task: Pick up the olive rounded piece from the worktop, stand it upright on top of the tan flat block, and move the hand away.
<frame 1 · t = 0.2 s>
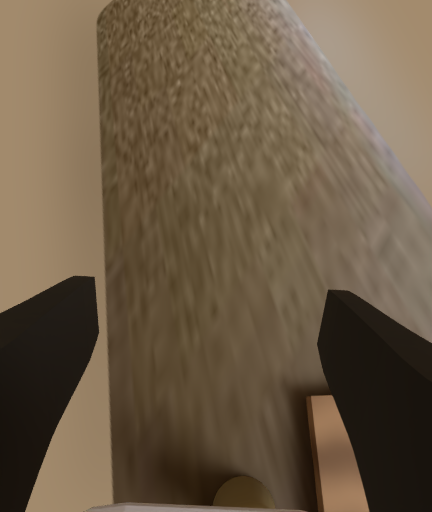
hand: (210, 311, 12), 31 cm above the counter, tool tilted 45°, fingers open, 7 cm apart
tan flat block: (373, 460, 37), on the counter
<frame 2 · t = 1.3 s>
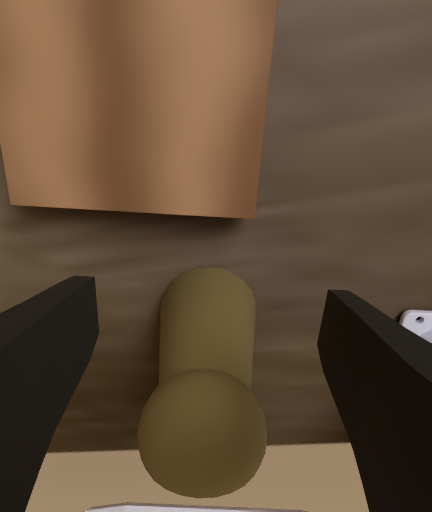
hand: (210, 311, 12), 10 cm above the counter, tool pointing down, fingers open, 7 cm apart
olive rounded piece: (208, 308, 24), on the counter
tan flat block: (140, 78, 19), on the counter
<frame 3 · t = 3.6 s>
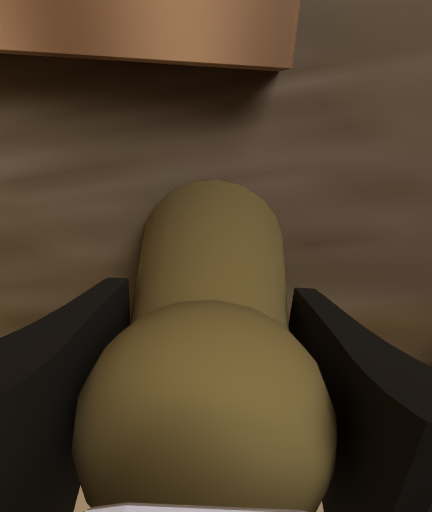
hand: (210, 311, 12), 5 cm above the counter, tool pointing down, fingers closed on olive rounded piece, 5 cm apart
olive rounded piece: (212, 247, 16), on the counter, touching gripper
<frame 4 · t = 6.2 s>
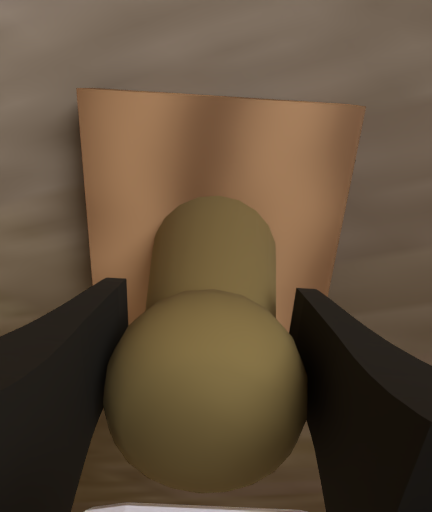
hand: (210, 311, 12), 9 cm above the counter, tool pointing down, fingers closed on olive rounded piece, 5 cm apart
olive rounded piece: (214, 255, 19), point 2 cm above the counter, touching gripper, tan flat block
tan flat block: (214, 217, 20), on the counter
when the fingers open (8 cm above the counter, at t = 6.9 s): olive rounded piece stays where it is, resting on tan flat block.
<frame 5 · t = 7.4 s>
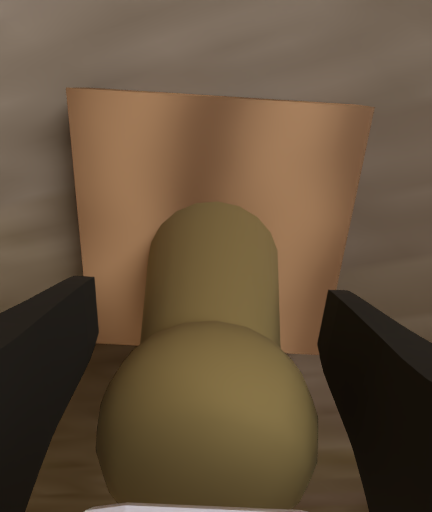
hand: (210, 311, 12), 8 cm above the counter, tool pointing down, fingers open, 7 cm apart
olive rounded piece: (213, 262, 18), point 2 cm above the counter, touching tan flat block
tan flat block: (213, 223, 20), on the counter
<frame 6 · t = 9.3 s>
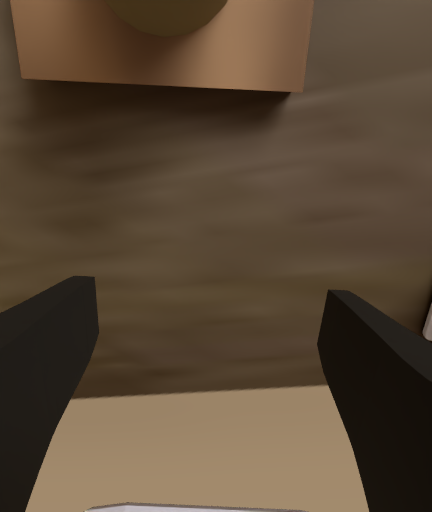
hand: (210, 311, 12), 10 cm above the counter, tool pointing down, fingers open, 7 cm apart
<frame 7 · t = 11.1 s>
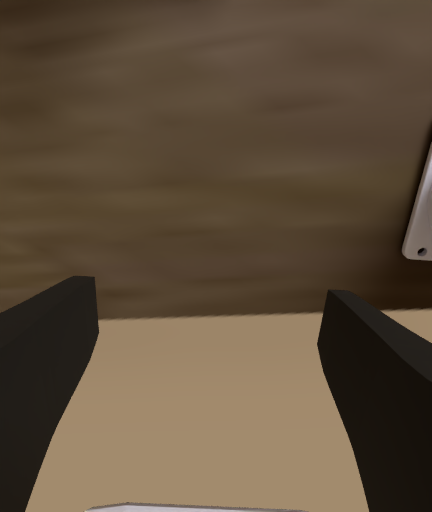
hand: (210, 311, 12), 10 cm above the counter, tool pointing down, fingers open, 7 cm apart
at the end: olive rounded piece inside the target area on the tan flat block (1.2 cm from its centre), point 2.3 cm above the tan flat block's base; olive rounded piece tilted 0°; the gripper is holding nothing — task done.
